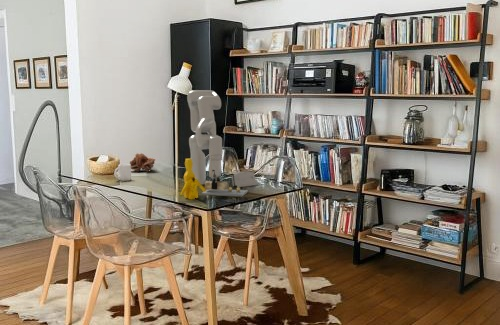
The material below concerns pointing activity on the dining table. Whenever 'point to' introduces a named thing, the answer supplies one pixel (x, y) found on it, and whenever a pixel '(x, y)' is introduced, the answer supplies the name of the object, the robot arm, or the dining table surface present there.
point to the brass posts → (231, 189)
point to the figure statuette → (190, 182)
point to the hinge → (244, 179)
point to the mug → (123, 172)
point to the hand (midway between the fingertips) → (216, 187)
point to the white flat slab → (225, 192)
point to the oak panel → (220, 185)
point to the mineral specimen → (142, 162)
